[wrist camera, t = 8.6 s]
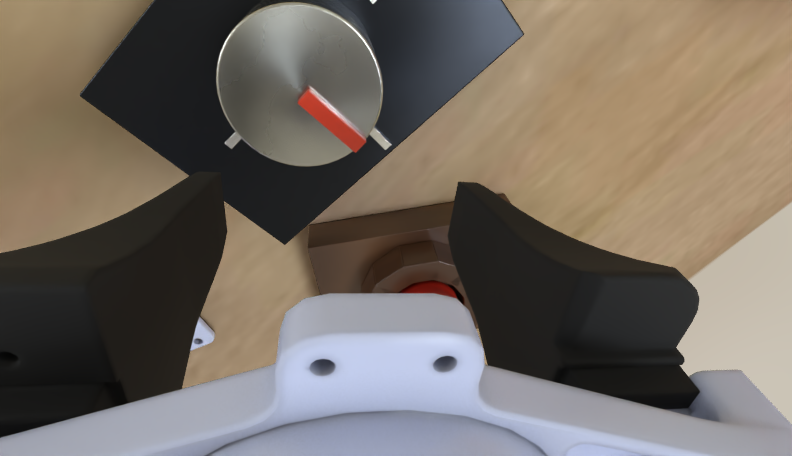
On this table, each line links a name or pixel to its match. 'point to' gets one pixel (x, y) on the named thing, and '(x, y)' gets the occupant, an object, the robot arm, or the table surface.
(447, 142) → the table surface
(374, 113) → the dial
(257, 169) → the dial panel
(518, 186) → the table surface
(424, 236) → the button block
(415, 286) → the button
